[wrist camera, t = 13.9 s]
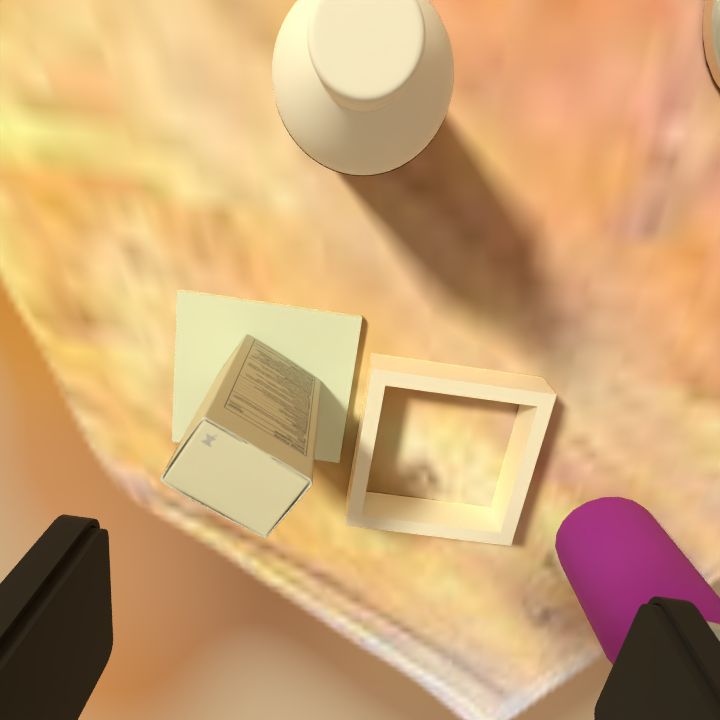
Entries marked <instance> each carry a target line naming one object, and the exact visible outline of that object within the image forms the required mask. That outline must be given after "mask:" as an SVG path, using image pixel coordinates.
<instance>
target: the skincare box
mask: <svg viewBox="0 0 720 720" xmlns="http://www.w3.org/2000/svg"><path fill="white" fill-rule="evenodd" d="M320 393H321V381H320V380H319V379H318V378H316V377H315V376H313V375H312V374H311V373H309V372H308V371H306V370H305V369H303V368H302V367H300V366H299V365H297V364H296V363H294V362H293V361H291V360H289V359H288V358H286V357H285V356H283V355H282V354H280V353H279V352H277V351H275V350H274V349H272V348H271V347H269V346H267V345H266V344H264V343H262V342H261V341H259V340H257V339H256V338H254V337H252V336H251V335H249V334H246V335H245V336H244V338H243V339H242V340H241V342H240V343H239V344H238V346H237V347H236V348H235V350H234V351H233V352H232V354H231V355H230V357H229V358H228V360H227V361H226V363H225V364H224V365H223V367H222V368H221V370H220V372H219V373H218V375H217V377H216V378H215V380H214V382H213V383H212V385H211V387H210V389H209V391H208V392H207V394H206V396H205V398H204V400H203V401H202V403H201V405H200V407H199V409H198V410H197V412H196V414H195V416H194V418H193V419H192V421H191V423H190V425H189V426H188V428H187V430H186V432H185V434H184V435H183V437H182V439H181V441H180V443H179V445H178V446H177V448H176V450H175V452H174V454H173V456H172V457H171V459H170V461H169V463H168V465H167V467H166V468H165V470H164V472H163V474H162V476H161V481H162V482H163V483H164V484H166V485H168V486H169V487H171V488H172V489H174V490H176V491H178V492H179V493H181V494H182V495H184V496H186V497H188V498H190V499H191V500H193V501H195V502H197V503H198V504H200V505H202V506H204V507H206V508H208V509H209V510H211V511H213V512H215V513H217V514H219V515H221V516H223V517H224V518H226V519H228V520H230V521H232V522H234V523H236V524H238V525H239V526H242V527H244V528H246V529H247V530H249V531H251V532H253V533H255V534H257V535H259V536H261V537H263V538H266V537H267V536H268V535H269V534H270V533H271V532H272V531H273V529H274V528H275V527H276V526H277V525H278V524H279V523H280V522H281V521H282V520H283V519H284V517H285V516H286V515H287V514H288V513H289V512H290V511H291V509H292V508H293V507H294V506H295V505H296V504H297V503H298V501H299V500H300V499H301V498H302V497H303V495H304V494H305V493H306V492H307V491H308V489H309V488H310V487H311V485H312V482H313V471H314V459H315V449H316V437H317V426H318V415H319V404H320Z"/></svg>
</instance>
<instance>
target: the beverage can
mask: <svg viewBox="0 0 720 720" xmlns="http://www.w3.org/2000/svg"><path fill="white" fill-rule="evenodd" d="M555 547H556V550H557V554H558V557H559V560H560V563H561V566H562V568H563V570H564V572H565V574H566V576H567V578H568V580H569V582H570V584H571V586H572V588H573V590H574V592H575V594H576V596H577V598H578V600H579V602H580V604H581V606H582V608H583V610H584V612H585V614H586V616H587V618H588V620H589V622H590V624H591V626H592V628H593V630H594V632H595V634H596V636H597V638H598V640H599V642H600V644H601V646H602V648H603V650H604V652H605V654H606V656H607V658H608V659H609V660H610V662H611V663H612V664H613V665H614V663H615V661H616V658H617V656H618V654H619V652H620V649H621V647H622V645H623V643H624V640H625V638H626V636H627V633H628V631H629V629H630V627H631V624H632V622H633V620H634V618H635V615H636V613H637V611H638V609H639V607H640V606H641V605H642V604H647V603H648V602H649V600H650V599H651V598H652V597H654V596H659V597H666V598H673V599H680V600H688V601H690V602H692V603H693V604H694V605H695V606H696V607H697V608H698V610H699V611H700V613H701V614H702V616H703V617H704V619H705V620H706V622H707V623H708V625H709V626H710V628H711V629H712V631H713V632H714V634H715V635H716V637H717V638H718V640H719V641H720V598H719V597H718V595H717V594H716V593H715V592H714V591H713V589H712V588H711V587H710V586H709V584H708V583H707V582H706V581H705V580H704V578H703V577H702V576H701V575H700V573H699V572H698V571H697V570H696V569H695V567H694V566H693V565H692V564H691V562H690V561H689V560H688V559H687V558H686V556H685V555H684V554H683V553H682V551H681V550H680V549H679V548H678V547H677V545H676V544H675V543H674V542H673V540H672V539H671V538H670V537H669V536H668V534H667V533H666V532H665V531H664V529H663V528H662V527H661V526H660V525H659V523H658V522H657V521H656V520H655V518H654V517H653V516H652V515H651V514H650V513H649V512H648V511H647V510H646V509H645V508H644V507H642V506H641V505H639V504H638V503H636V502H634V501H633V500H629V499H625V498H621V497H603V498H599V499H596V500H593V501H589V502H586V503H585V504H583V505H581V506H580V507H578V508H576V509H575V510H573V511H572V512H571V513H570V514H569V515H568V516H567V517H566V518H565V520H564V521H563V522H562V524H561V526H560V528H559V530H558V532H557V535H556V544H555Z"/></svg>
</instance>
